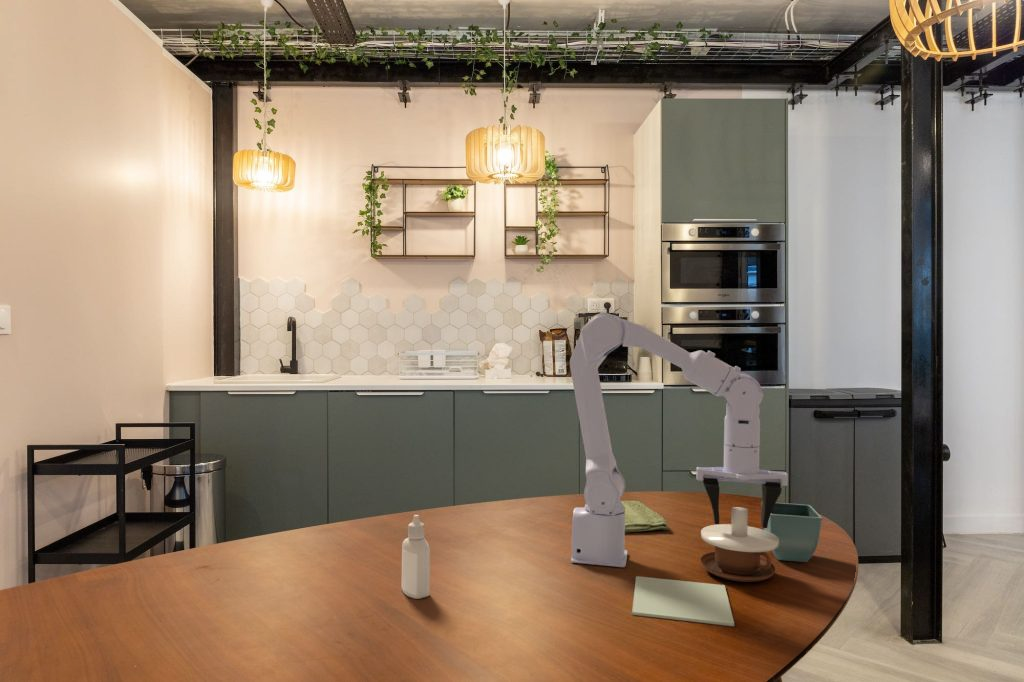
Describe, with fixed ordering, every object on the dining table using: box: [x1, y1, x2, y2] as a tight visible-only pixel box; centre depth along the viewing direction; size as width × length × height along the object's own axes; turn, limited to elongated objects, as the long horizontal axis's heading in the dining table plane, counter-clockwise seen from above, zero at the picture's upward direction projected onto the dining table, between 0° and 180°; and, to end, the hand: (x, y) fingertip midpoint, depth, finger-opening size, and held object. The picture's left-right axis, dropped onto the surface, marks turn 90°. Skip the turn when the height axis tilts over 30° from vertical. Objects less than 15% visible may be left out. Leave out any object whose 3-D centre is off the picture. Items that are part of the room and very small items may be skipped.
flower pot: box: [761, 501, 823, 563], centre depth 116 cm, size 9×9×9 cm
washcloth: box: [621, 500, 669, 534], centre depth 138 cm, size 13×18×3 cm
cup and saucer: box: [700, 546, 776, 583], centre depth 108 cm, size 12×12×6 cm
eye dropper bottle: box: [401, 514, 431, 600], centre depth 98 cm, size 4×6×12 cm
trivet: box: [631, 575, 735, 627], centre depth 97 cm, size 14×14×1 cm
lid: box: [700, 506, 779, 553], centre depth 107 cm, size 12×12×5 cm
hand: (740, 524), depth 108 cm, fingers open, 7 cm apart
